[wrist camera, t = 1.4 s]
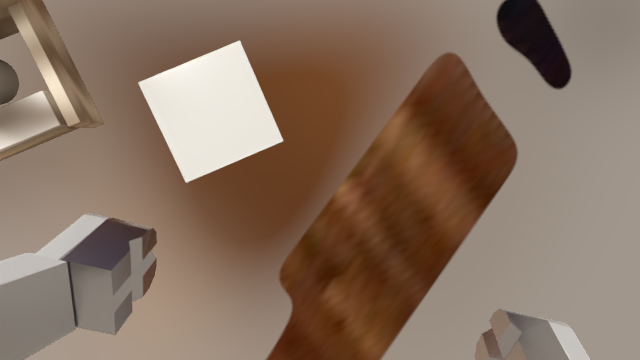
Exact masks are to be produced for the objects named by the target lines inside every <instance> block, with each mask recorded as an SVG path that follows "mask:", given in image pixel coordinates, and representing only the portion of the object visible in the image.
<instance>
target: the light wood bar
mask: <svg viewBox="0 0 640 360" xmlns="http://www.w3.org/2000/svg"><path fill="white" fill-rule="evenodd" d="M78 128H80V127H68V125H67V123H66V121H65V119H64V117H63V115H62V113H61V111H60V109H59V107H58V105H57V103H56V101H55V99H54V97H53V95H52V93H51V92H47V91H43V90H42V91H40V92H37V93H35V94H32V95H30V96H27V97H25V98H22V99H20V100H18V101H15V102H13V103H10V104H8V105H6V106H3V107H1V108H0V161H1V160H3V159H6V158H8V157H11V156H13V155H15V154H18V153H20V152H23V151H25V150H27V149H30V148H32V147H35V146H37V145H39V144H42V143H44V142H47V141H49V140H51V139H54V138H56V137H58V136H61V135H63V134H66V133H68V132H71V131H73V130H75V129H78Z"/></svg>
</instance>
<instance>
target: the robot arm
mask: <svg viewBox="0 0 640 360" xmlns="http://www.w3.org/2000/svg"><path fill="white" fill-rule="evenodd" d="M156 240H157V239H156V231H155V230H154V229H153V228H150V227H146V226H142V225H139V224H135V223H131V222H127V221H123V220H119V219H115V218H109V217H106V216H102V215H98V214H94V213H89V214H85V215H83V216H82V217H81V218H80V219H78V220H77V221H76V222H75V223H73V224H72V225H71V226H69V227H68V228H67V229H66V230H65V231H63V232H62V233H61V234H60V235H58V236H57V237H56V238H54V239H53V240H52V241H51V242H50V243H48V244H47V245H46V246H44V247H43V248H42V249H41V250H39V251H38V252H37V253H36V254H32V253H25V254H21V255H18V256H15V257H12V258H9V259H6V260H2V261H0V360H24V359H26V358H28V357H29V356H31V355H33V354H34V353H36V352H38V351H40V350H41V349H43V348H45V347H46V346H48V345H50V344H52V343H53V342H55V341H57V340H59V339H60V338H62V337H64V336H65V335H67V334H68V333H70V332H72V331H74V330H75V329H76V327H77V328H82V329H88V330H92V331H98V332H102V333H107V334H112V335H116V333H117V332H118V331H119V329H120V328H121V327H122V325H123V324H124V322H125V321H126V319H127V318H128V317H129V316H130V314H131V313H132V302H134V301H136V300H138V299H140V298H142V297H143V296H144V295H145V293H146V292H147V290H148V289H149V287H150V285H151V282H152V280H153V278H154V275H155V270H156V257H155V255H154V254H153V252H152V251H151V249H152V248H153V247H154V246H155V244H156V243H157V241H156ZM489 321H490V324H491V327H492V329H490V330H488V331H486V332H484V333H482V334H481V336H480V338H479V340H478V342H477V344H476V350H475V360H590V358H589V356H588V355H587V353H586V352H585V350H584V348H583V347H582V345H581V343H580V342H579V340H578V339H577V337H576V335H575V334H574V332H573V331H572V329H571V328H570V327H569V326H568V325H567V324H566V323H564V322H559V321H555V320H550V319H545V318H538V317H534V316H529V315H525V314H520V313H516V312H511V311H507V310H502V309H498V310H497V311H495V312H494V313H493V315H492V317H491V319H490V320H489Z"/></svg>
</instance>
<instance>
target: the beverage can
mask: <svg viewBox="0 0 640 360" xmlns="http://www.w3.org/2000/svg"><path fill="white" fill-rule="evenodd" d="M18 87H19V82H18V77H17V74H16V72H15V70H14V69H13V68H12V67H11V66H10V65H9V64H8V63H6V62H4V61H2V60H0V105H1V104H4V103H8V102H9V101H10V100H12V99H13V98H14V97H15V95H16V94H17V91H18Z"/></svg>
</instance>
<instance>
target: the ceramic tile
mask: <svg viewBox="0 0 640 360" xmlns="http://www.w3.org/2000/svg"><path fill="white" fill-rule="evenodd" d="M139 86H140V88H141V90H142V92H143V94H144V96H145V98H146V100H147V102H148V104H149V106H150V108H151V111H152V113H153V115H154V117H155V119H156V121H157V123H158V125H159V127H160V129H161V131H162V134H163V136H164V138H165V140H166V141H167V144H168V146H169V148H170V150H171V152H172V154H173V156H174V159H175V161H176V163H177V165H178V167H179V169H180V171H181V173H182V175H183V177H184V179H185V181H186V183H187V182H189V181H192V180H194V179H196V178H198V177H201V176H203V175H206V174H208V173H210V172H213V171H215V170H217V169H219V168H222V167H224V166H227V165H229V164H231V163H234V162H236V161H238V160H241V159H243V158H245V157H248V156H250V155H252V154H255V153H257V152H259V151H262V150H264V149H266V148H268V147H271V146H273V145H276V144H278V143H280V142H283V138H282V136H281V134H280V132H279V129H278V127H277V125H276V123H275V120H274V118H273V115H272V113H271V111H270V109H269V106H268V104H267V102H266V100H265V97H264V95H263V92H262V90H261V88H260V86H259V83H258V81H257V79H256V76H255V74H254V72H253V70H252V67H251V65H250V63H249V60H248V58H247V56H246V53H245V51H244V49H243V46H242V44H241V42H240V41H238V42H235V43H233V44H230V45H228V46H226V47H223V48H221V49H218V50H216V51H214V52H211V53H209V54H206V55H204V56H201V57H199V58H196V59H194V60H192V61H189V62H187V63H185V64H182V65H180V66H177V67H175V68H172V69H170V70H168V71H165V72H163V73H160V74H158V75H155V76H154V77H151V78H148V79H146V80H144V81H141V82H139Z"/></svg>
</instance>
